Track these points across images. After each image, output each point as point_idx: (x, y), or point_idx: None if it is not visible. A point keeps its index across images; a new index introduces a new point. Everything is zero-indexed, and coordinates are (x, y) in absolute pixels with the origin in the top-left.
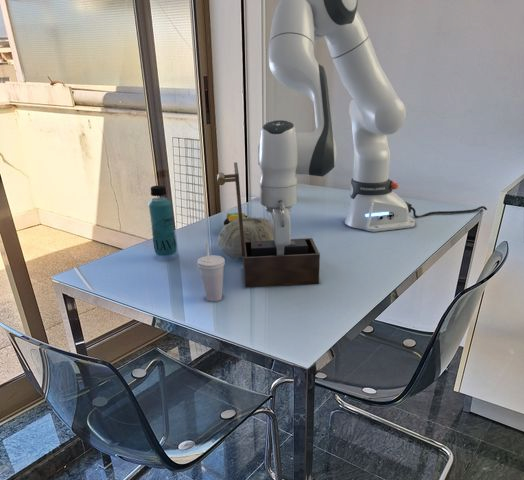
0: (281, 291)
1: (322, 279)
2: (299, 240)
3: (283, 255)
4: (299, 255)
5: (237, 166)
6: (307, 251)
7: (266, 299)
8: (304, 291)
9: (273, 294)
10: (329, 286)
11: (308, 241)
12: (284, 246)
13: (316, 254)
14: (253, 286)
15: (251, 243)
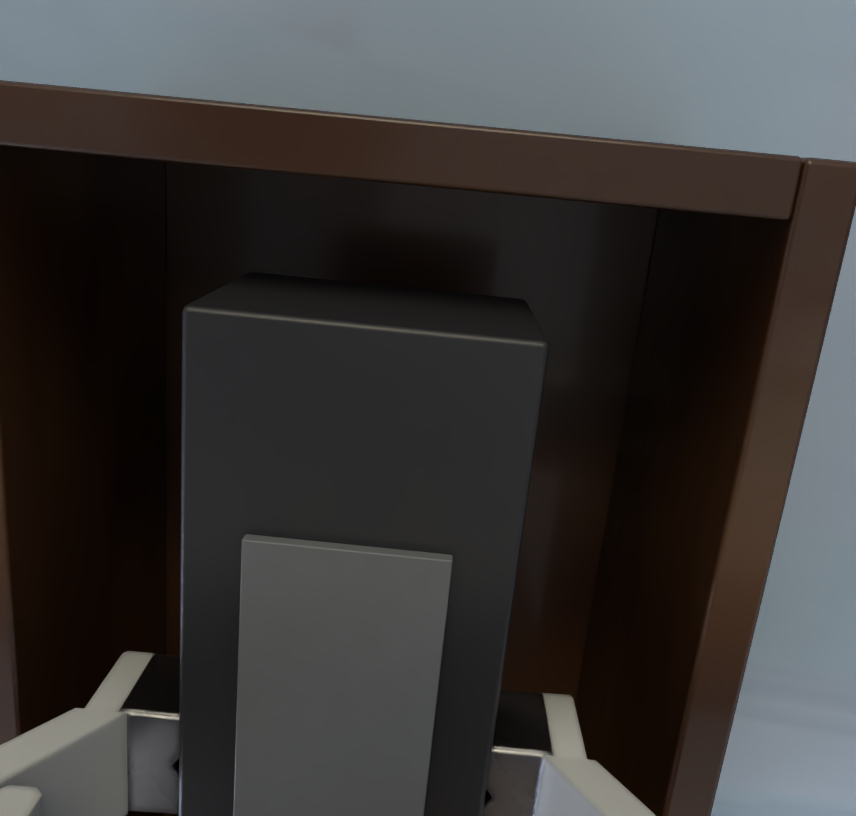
0: None
1: (582, 83)
2: (221, 427)
3: (693, 746)
4: (775, 524)
5: None
6: (533, 319)
7: None
8: (828, 367)
9: (788, 655)
10: (801, 53)
11: (9, 169)
12: (646, 807)
13: (844, 229)
14: None
15: None
